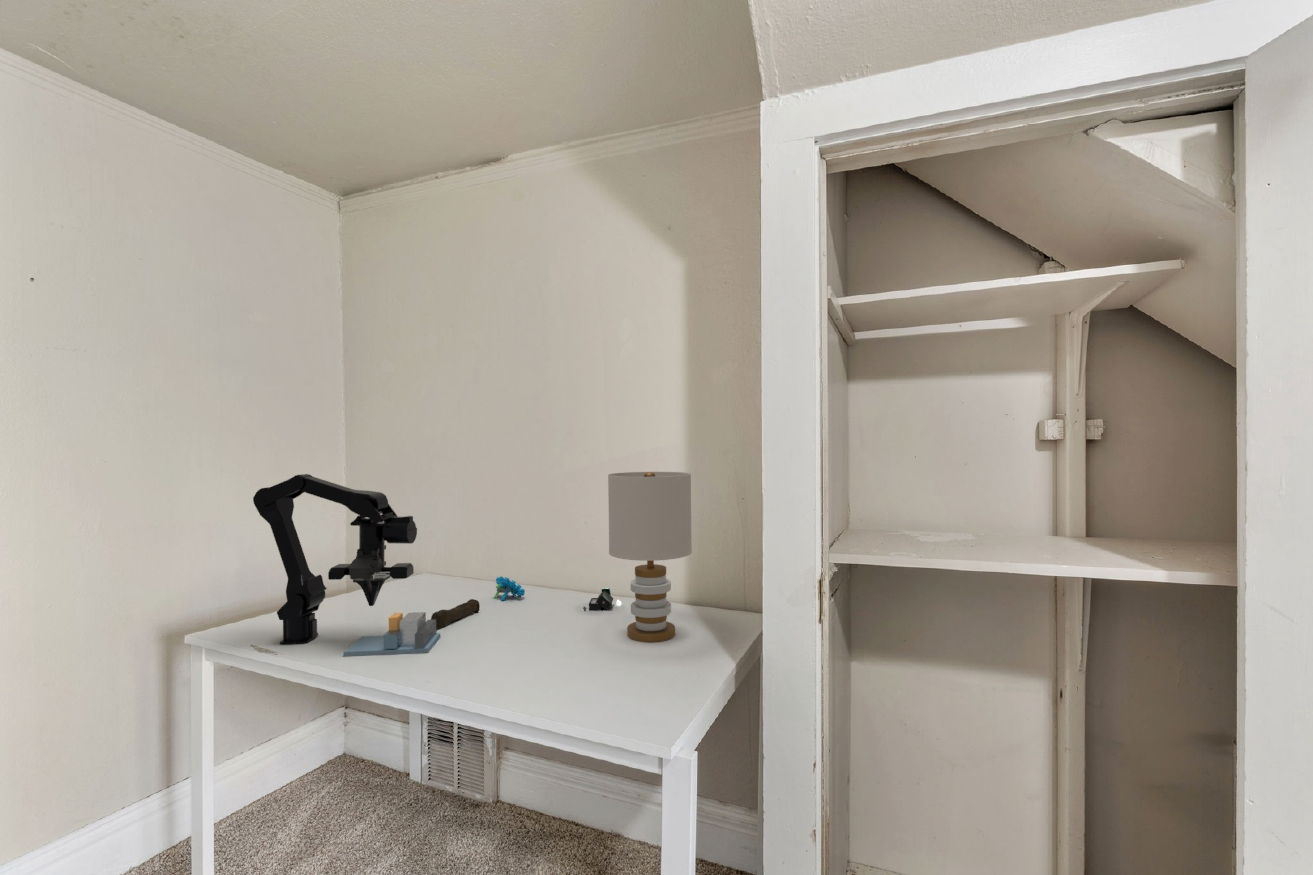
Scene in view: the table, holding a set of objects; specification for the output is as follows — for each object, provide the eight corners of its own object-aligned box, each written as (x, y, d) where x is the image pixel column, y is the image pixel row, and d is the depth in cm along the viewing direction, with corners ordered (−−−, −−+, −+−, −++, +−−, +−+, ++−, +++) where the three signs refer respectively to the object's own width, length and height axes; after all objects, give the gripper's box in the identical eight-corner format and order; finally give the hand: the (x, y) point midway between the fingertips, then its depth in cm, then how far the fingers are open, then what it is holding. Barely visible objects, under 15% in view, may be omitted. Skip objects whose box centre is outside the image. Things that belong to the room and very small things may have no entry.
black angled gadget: (623, 616, 169) (623, 597, 169) (570, 617, 169) (569, 597, 169) (627, 602, 184) (626, 584, 184) (578, 602, 184) (578, 584, 184)
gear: (532, 592, 188) (511, 574, 183) (522, 609, 184) (500, 591, 179) (510, 592, 195) (490, 574, 190) (501, 608, 191) (479, 590, 187)
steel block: (400, 646, 142) (399, 621, 142) (409, 636, 149) (408, 612, 149) (417, 645, 143) (417, 620, 143) (425, 636, 150) (425, 611, 150)
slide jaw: (383, 648, 140) (383, 622, 140) (399, 633, 151) (398, 608, 151) (397, 648, 140) (396, 621, 140) (411, 633, 151) (411, 608, 151)
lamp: (685, 651, 140) (683, 475, 140) (599, 645, 144) (597, 474, 144) (697, 623, 161) (696, 469, 161) (621, 619, 165) (620, 469, 165)
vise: (343, 656, 139) (343, 636, 139) (362, 640, 150) (361, 622, 150) (428, 652, 141) (428, 633, 141) (440, 637, 152) (440, 619, 152)
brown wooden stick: (469, 611, 175) (468, 595, 175) (480, 612, 173) (480, 596, 173) (422, 631, 157) (421, 614, 157) (434, 633, 156) (433, 615, 156)
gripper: (317, 549, 142) (317, 615, 142) (399, 548, 143) (398, 614, 143) (338, 541, 153) (338, 602, 153) (414, 540, 154) (414, 601, 154)
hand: (371, 605), depth 150 cm, fingers closed
